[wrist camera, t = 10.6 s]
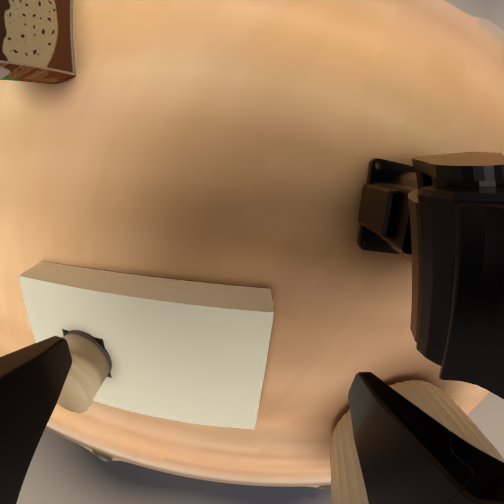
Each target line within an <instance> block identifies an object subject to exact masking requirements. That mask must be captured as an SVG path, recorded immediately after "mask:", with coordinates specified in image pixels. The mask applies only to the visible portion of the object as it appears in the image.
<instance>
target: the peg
mask: <svg viewBox="0 0 504 504" xmlns="http://www.w3.org/2000/svg"><path fill="white" fill-rule="evenodd" d="M63 338H65V339H66V340H67V342H68V346H69V350H70V353H71V356H72V365H71V368H70V371H69V373H68V376H67V378H66V381H65V383H64V386H63V389H62V391H61V394H60V397H59V399H58V402H57V404H59V405H60V406H62V407H63V408H65V409H67V410H70V411H72V412H76V413H83V412H85V411H87V410H88V408H89V406H90V404H91V403H92V401H93V399H94V397H95V396H96V394H97V392H98V390H99V389H100V387H101V385H102V383H103V382H104V380H105V378H106V377H107V376H108V374H109V373H110V371H111V368H112V362H111V358H110V356H109V354H108V352H107V350H106V349H105V346H104V342H103V339H100V338H96V337H93V336H92V335H90V334H88V333H86V332H84V331H80V330H71V331H69V332H67V333H66V334H65V335H64V336H63Z"/></svg>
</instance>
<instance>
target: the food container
mask: <svg viewBox="0 0 504 504" xmlns="http://www.w3.org/2000/svg"><path fill="white" fill-rule="evenodd" d="M75 76H76V70H75V59H74V46H73V21H72V0H0V80H14V81H27V82H37V83H46V84H56V83H61V82H64V81H67V80H69V79H71V78H73V77H75Z"/></svg>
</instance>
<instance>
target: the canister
mask: <svg viewBox="0 0 504 504" xmlns="http://www.w3.org/2000/svg"><path fill="white" fill-rule="evenodd" d="M388 386H390V387H391V388H393V389H394V390H395V391H397V392H398V393H399V394H401V395H402V396H403V397H405V398H406V399H407V400H409V401H410V402H412V403H413V404H414V405H416V406H417V407H418V408H420V409H421V410H422V411H424V412H425V413H427V414H428V415H429V416H431V417H432V418H434V419H435V420H436V421H438V422H439V423H441V424H442V425H443V426H445V427H446V428H448V429H449V431H452V432H453V433H455V434H456V435H458V436H459V437H460V438H462V439H463V440H465V441H467V442H468V443H470V444H471V445H473V446H475V447H476V448H478V449H480V450H481V451H483V452H485V453H487V454H489V455H491V456H492V457H494V458H496V459H498V460H500V461H502V462H504V458H503V457H502V456H501V455H500V453H499V452H498V451H497V450H496V448H495V447H494V446H493V445H492V444H491V443H490V441H489V440H488V439H487V438H486V437H485V436H484V434H483V433H482V432H481V431H480V430H479V429H478V428H477V426H476V425H475V424H474V423H473V422H472V421H471V420H470V418H469V417H468V416H467V415H466V414H465V413H464V412H463V411H462V410H461V409H460V408H459V406H458V405H457V404H456V403H455V402H454V401H453V400H452V399H451V398H450V397H449V396H448V395H447V394H446V393H445V392H444V391H443V390H441V389H440V388H439V387H437V386H435V385H433V384H432V383H429V382H425V381H421V380H417V381H416V380H410V381H402V382H400V383H399V382H396V383H395V384H393V385H388ZM330 462H331V489H332V504H369V503H368V498H367V493H366V489H365V484H364V480H363V475H362V471H361V467H360V463H359V458H358V454H357V450H356V446H355V442H354V437H353V429H352V421H351V414H350V409H349V410H348V412H347V413H345V414H344V415H343V416H342V418H341V419H340V420H339V422H338V423H337V426H336V427H335V429H334V431H333V435H332V438H331V443H330Z"/></svg>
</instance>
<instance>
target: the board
mask: <svg viewBox="0 0 504 504" xmlns="http://www.w3.org/2000/svg"><path fill="white" fill-rule="evenodd" d="M19 280H20V285H21V289H22V294H23V298H24V302H25V307H26V311H27V314H28V318H29V322H30V325H31V329H32V332H33V335H34V338H35V342H36V343H38V342H40V341H43V340H45V339H48V338H50V337H53V336H59V337H62V338H63V336H64V335H65V334H66V333H67V332H69V331H71V330H80V331H84V332H86V333H88V334H90V335H92V336H93V337H96V338H100V339H103V342H104V346H105V349H106V350H107V352H108V354H109V356H110V358H111V362H112V368H111V371H110V373H109V374H108V376H107V377H106V378H105V380H104V382H103V383H102V385H101V387H100V389H99V390H98V392H97V394H96V396H95V397H94V399H93V401H95V402H98V403H102V404H105V405H109V406H112V407H116V408H120V409H124V410H128V411H132V412H136V413H140V414H145V415H149V416H154V417H159V418H164V419H170V420H176V421H182V422H188V423H195V424H203V425H211V426H220V427H230V428H244V429H255V424H256V418H257V413H258V407H259V402H260V396H261V390H262V385H263V379H264V373H265V367H266V361H267V355H268V349H269V342H270V336H271V330H272V323H273V317H274V308H273V300H272V293H271V289H268V288H256V287H245V286H234V285H223V284H213V283H203V282H194V281H185V280H176V279H167V278H158V277H150V276H142V275H134V274H126V273H118V272H111V271H103V270H96V269H89V268H82V267H76V266H69V265H62V264H56V263H50V262H43V261H42V262H40V263H39V264H37V265H35V266H34V267H32V268H30V269H29V270H27V271H26V272H24V273H22V274H21V275H19Z"/></svg>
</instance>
